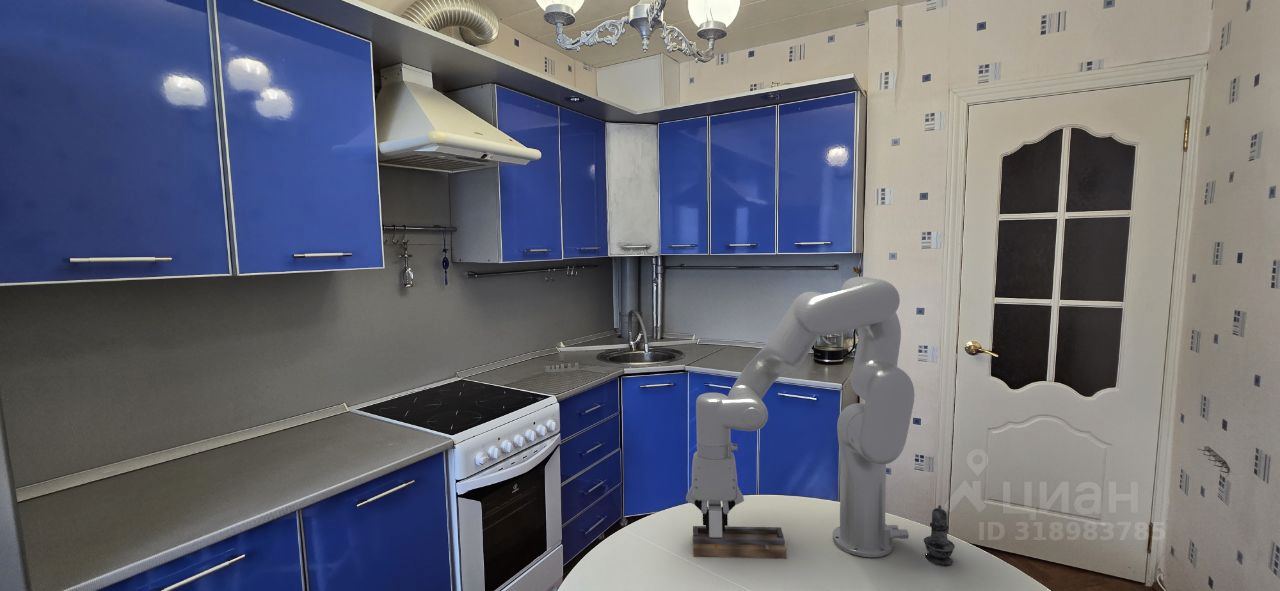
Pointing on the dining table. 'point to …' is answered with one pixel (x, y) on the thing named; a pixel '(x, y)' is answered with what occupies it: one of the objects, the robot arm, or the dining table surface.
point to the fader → (715, 519)
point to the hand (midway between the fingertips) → (715, 527)
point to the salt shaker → (939, 540)
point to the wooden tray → (740, 542)
